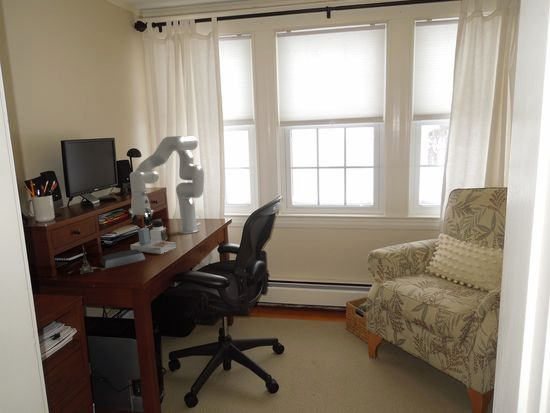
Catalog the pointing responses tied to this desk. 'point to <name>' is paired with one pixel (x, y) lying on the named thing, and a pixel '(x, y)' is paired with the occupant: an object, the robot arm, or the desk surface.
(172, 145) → the robot arm
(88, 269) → the eiffel tower figurine
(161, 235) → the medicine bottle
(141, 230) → the peg
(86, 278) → the desk surface
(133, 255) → the external hard drive
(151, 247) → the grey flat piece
